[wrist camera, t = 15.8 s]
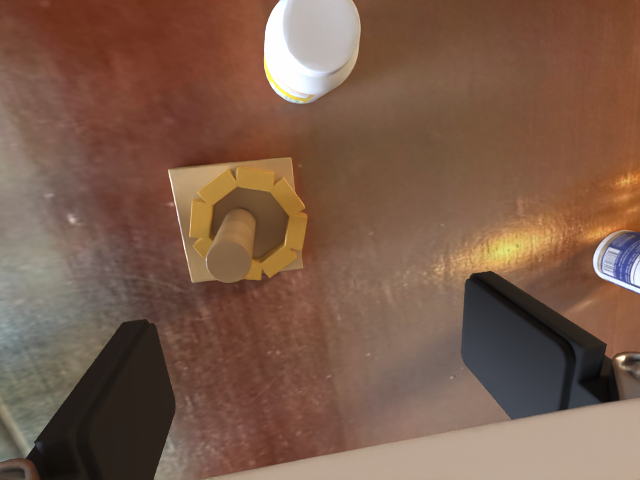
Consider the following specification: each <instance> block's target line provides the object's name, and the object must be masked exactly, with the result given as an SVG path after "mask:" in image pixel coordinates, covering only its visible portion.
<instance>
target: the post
mask: <svg viewBox="0 0 640 480" xmlns="http://www.w3.org/2000/svg"><path fill="white" fill-rule="evenodd" d="M238 166H245V167H251V168H257V169H263V170H270V171H274V172H275V179H274V183H275V182H276V181H277V180H279V179H280V178H281V177H284V178H285V180H286V181H287V182H288V184H289V185H290V186H291V188H292V189H293V190H294V192H295V187H294V177H293V167H292V159H291V158H290V157H284V158H273V159H263V160H252V161H241V162H231V163H220V164H210V165H199V166H188V167H178V168H172V169H169V170H168V171H169V176H170V181H171V186H172V191H173V195H174V200H175V205H176V210H177V214H178V219H179V224H180V229H181V234H182V238H183V243H184V248H185V253H186V258H187V262H188V267H189V272H190V277H191V282H192V283H196V282H203V281H211V280H219V281H221V282H226V283H233V282H237V281H239V280H241V279H243V278H244V277H245V276H246V275H247V274H248V273H249V271H250V269H251V265H252V257H257V258H261V257H263V256H264V255H265V254H267V253H268V252H270V251H271V250H272V249H274V248H275V247H276V246H278V245H279V244H281V243H282V242H283V241H284V237H285V230H286V223H287V217H288V215H287V213H286V212H285V211H284V209H283V208H282V207H281V205H280V204H279V203H278V202H277V200H276V199H275V198H274V196H273V195H272V194H271V192H268V191H262V190H255V189H248V188H241V187H237V188H236V189H234V190H233V191H232V192H230V193H229V194H228V195H226V196H225V197H224V198H222V199H221V200H220V201H218V202H217V203H216V204H214V213H213V224H212V233H213V234H214V236H215V239H214V241H213V243H212V245H211V247H210V249H209V251H208V253H207V256H206V260H205V259H204V258H203V257H202V256H201V255H200V254H199V253H198V252H197V250H196V249H195V248H194V247H193V245H194V243H195V242H196V240H198V239H199V238H194V237H189V233H190V220H191V207H192V201H193V200H194V199H195V198H201V197H200V195H199V194H198V193H197V192H198V191H199V190H200V189H201V188H203V187H204V186H205V185H207V184H208V183H209V182H211V181H212V180H213V179H215V178H216V177H217V176H219V175H220V174H221V173H223V172H224V171H225V170H226V169H228V168H229V169H230V170H231V171H232V173H233V174H234V175H235V176H236V173H237V167H238ZM201 199H202V198H201ZM293 250H294V251H295V252H296V256H297V259H295V260H294V261H292V262H291V263H290V264H288V265H287V266H286V267H284V268H283V269H281V270H280V271H286V270H294V269H301V268H303V263H302V254H301V250H296V249H293ZM264 273H265V272H264V271H263V270H262V274H264Z"/></svg>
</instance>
